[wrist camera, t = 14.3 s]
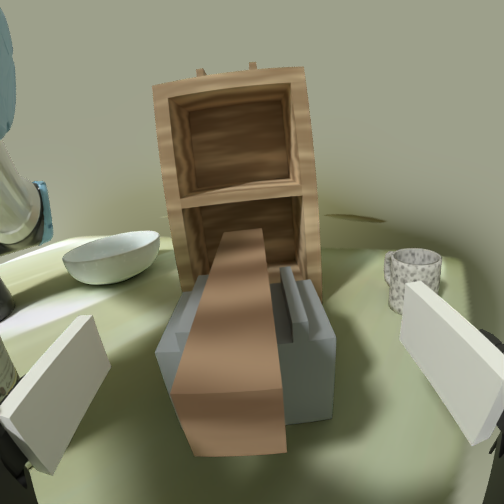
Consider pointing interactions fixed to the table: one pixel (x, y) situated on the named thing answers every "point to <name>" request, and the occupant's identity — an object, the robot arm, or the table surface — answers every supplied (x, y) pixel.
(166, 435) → the table surface
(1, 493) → the robot arm
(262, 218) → the oak stand
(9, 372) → the coffee can
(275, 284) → the grey cradle
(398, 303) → the mug
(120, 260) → the serving bowl
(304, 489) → the table surface
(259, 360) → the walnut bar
